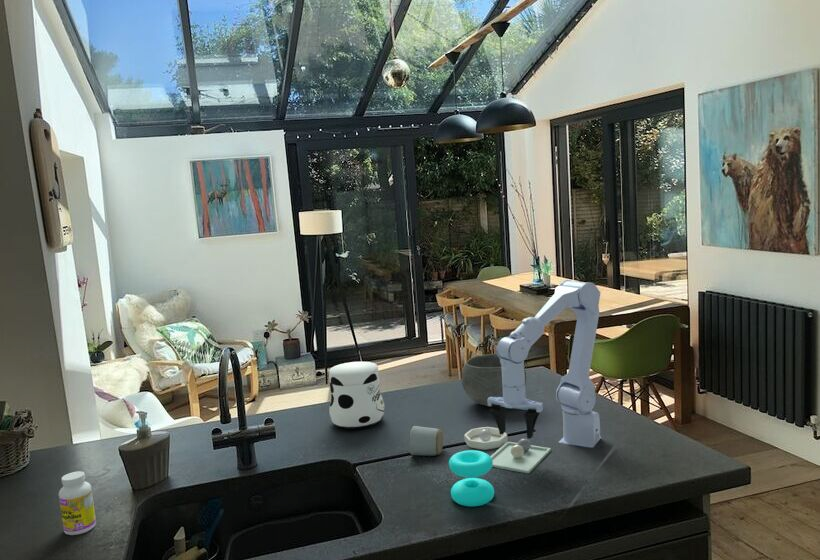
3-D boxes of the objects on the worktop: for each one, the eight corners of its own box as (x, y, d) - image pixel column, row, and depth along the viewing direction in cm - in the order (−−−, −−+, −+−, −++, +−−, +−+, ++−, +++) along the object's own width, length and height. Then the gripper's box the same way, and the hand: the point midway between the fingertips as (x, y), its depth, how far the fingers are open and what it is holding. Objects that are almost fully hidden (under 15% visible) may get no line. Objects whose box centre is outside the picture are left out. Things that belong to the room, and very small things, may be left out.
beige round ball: (526, 456, 167) (525, 443, 166) (521, 461, 164) (520, 448, 164) (514, 454, 169) (513, 441, 168) (508, 459, 166) (508, 446, 165)
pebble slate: (533, 449, 171) (532, 437, 170) (528, 454, 168) (527, 442, 167) (521, 447, 172) (520, 435, 172) (516, 452, 170) (515, 440, 169)
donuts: (439, 456, 148) (473, 444, 153) (442, 497, 149) (476, 484, 154) (466, 470, 139) (501, 457, 145) (469, 513, 141) (503, 499, 146)
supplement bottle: (57, 536, 144) (49, 482, 142) (77, 521, 151) (69, 469, 149) (84, 536, 143) (76, 482, 141) (102, 521, 149) (95, 469, 148)
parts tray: (551, 452, 169) (550, 448, 169) (528, 475, 157) (528, 471, 157) (507, 445, 176) (507, 441, 176) (483, 467, 163) (482, 462, 163)
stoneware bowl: (512, 438, 181) (512, 430, 180) (495, 453, 171) (495, 444, 171) (477, 433, 187) (476, 425, 186) (458, 447, 177) (458, 438, 177)
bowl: (533, 413, 200) (530, 366, 198) (465, 417, 200) (462, 371, 198) (522, 392, 221) (519, 350, 219) (461, 396, 221) (458, 354, 219)
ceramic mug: (439, 460, 170) (437, 432, 169) (409, 459, 172) (407, 431, 171) (447, 445, 180) (445, 418, 179) (418, 444, 182) (417, 418, 181)
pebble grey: (493, 439, 179) (492, 427, 179) (488, 443, 177) (487, 432, 176) (482, 438, 181) (481, 426, 181) (477, 442, 178) (476, 431, 178)
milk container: (396, 422, 200) (391, 367, 198) (347, 437, 191) (342, 379, 189) (367, 410, 215) (363, 357, 212) (321, 423, 205) (316, 368, 203)
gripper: (481, 385, 164) (484, 436, 166) (534, 391, 157) (536, 444, 158) (492, 378, 170) (495, 427, 172) (545, 383, 162) (547, 435, 164)
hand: (516, 435), depth 166 cm, fingers open, 7 cm apart
